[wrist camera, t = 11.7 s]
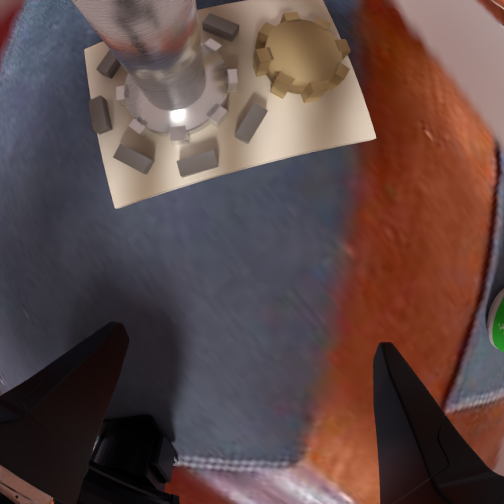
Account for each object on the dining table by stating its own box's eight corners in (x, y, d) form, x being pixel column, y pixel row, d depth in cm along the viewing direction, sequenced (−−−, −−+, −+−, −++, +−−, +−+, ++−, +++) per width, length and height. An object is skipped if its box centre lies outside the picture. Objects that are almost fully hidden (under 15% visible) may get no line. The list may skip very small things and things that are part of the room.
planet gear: (184, 168, 20) (112, 112, 6) (102, 105, 18) (-16, 19, 5) (260, 82, 19) (307, -54, 6) (176, 26, 18) (141, -110, 5)
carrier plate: (119, 208, 21) (101, 209, 17) (88, 54, 18) (71, 36, 15) (370, 140, 21) (392, 131, 18) (316, 0, 19) (328, -23, 16)
